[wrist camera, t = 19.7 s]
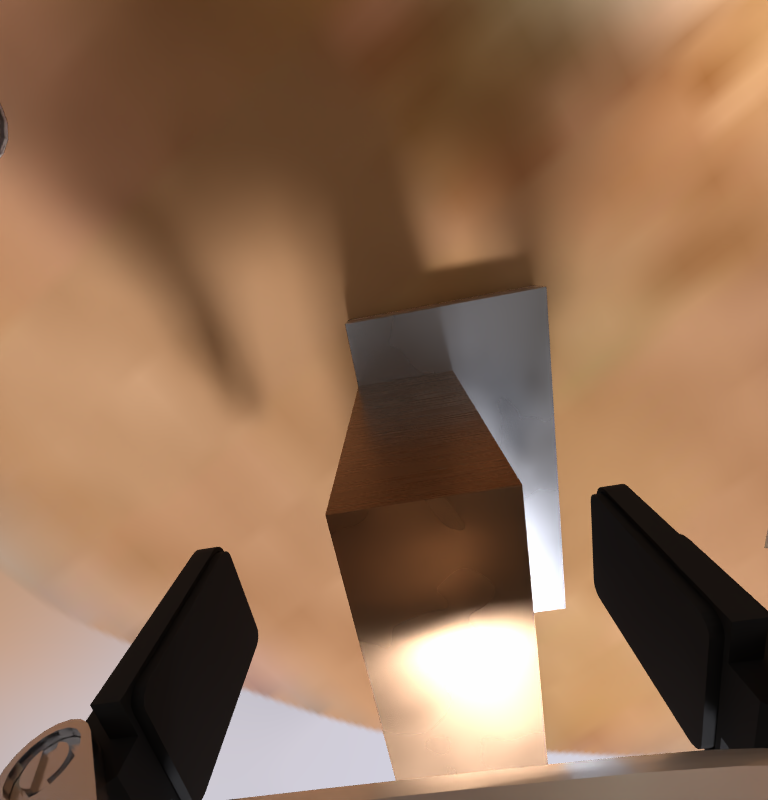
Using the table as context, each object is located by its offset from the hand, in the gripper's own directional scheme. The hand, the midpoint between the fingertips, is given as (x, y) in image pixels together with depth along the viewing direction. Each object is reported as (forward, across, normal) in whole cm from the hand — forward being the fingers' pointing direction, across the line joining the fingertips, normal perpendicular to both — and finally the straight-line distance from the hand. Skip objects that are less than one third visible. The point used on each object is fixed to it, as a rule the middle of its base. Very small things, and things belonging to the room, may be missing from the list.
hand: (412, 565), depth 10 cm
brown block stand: (+5, -2, 0) cm, 5 cm away
